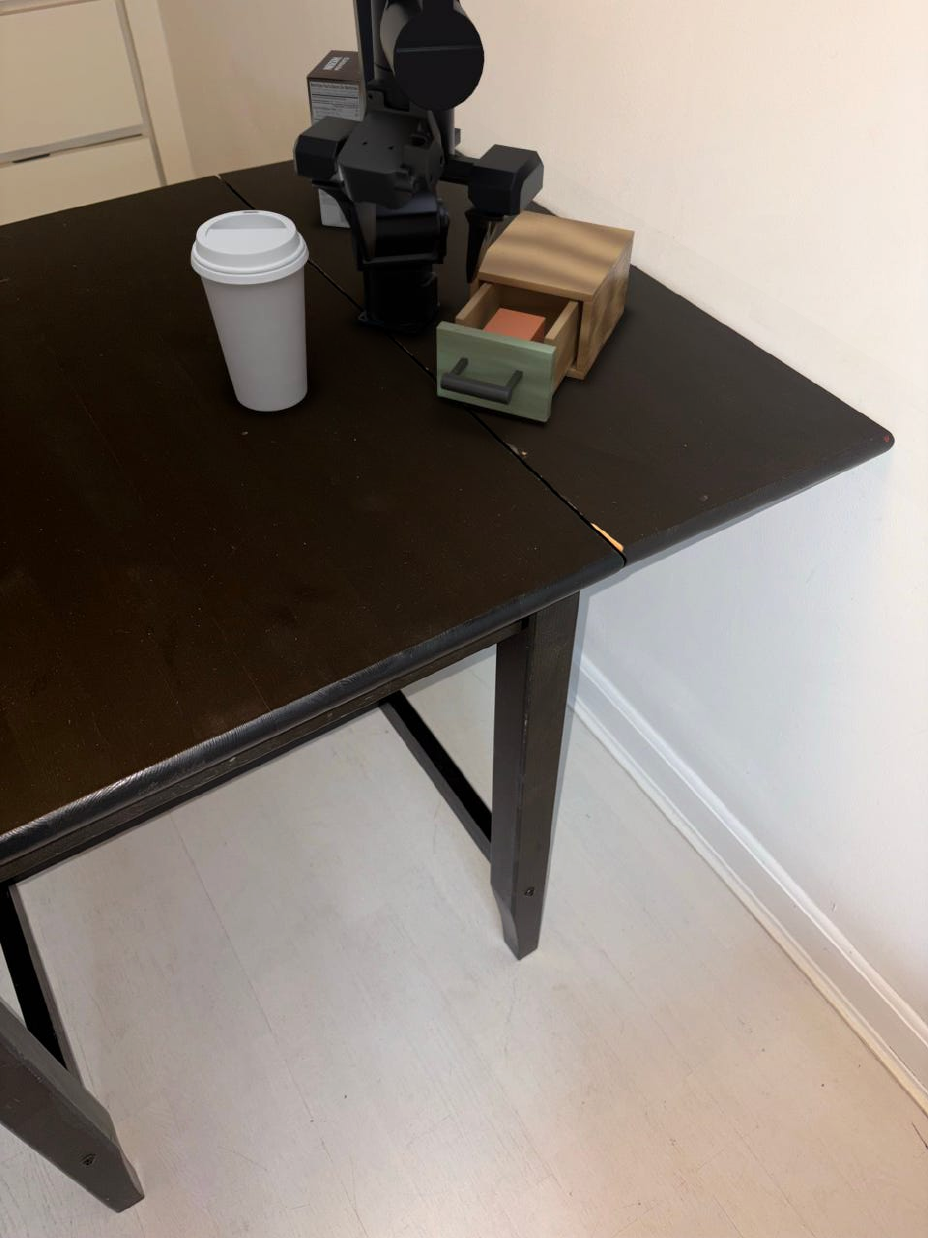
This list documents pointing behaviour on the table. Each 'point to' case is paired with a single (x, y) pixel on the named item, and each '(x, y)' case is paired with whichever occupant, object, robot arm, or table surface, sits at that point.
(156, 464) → the table surface
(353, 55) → the coffee box
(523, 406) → the drawer
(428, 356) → the table surface
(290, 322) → the coffee cup
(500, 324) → the block
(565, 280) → the cabinet
